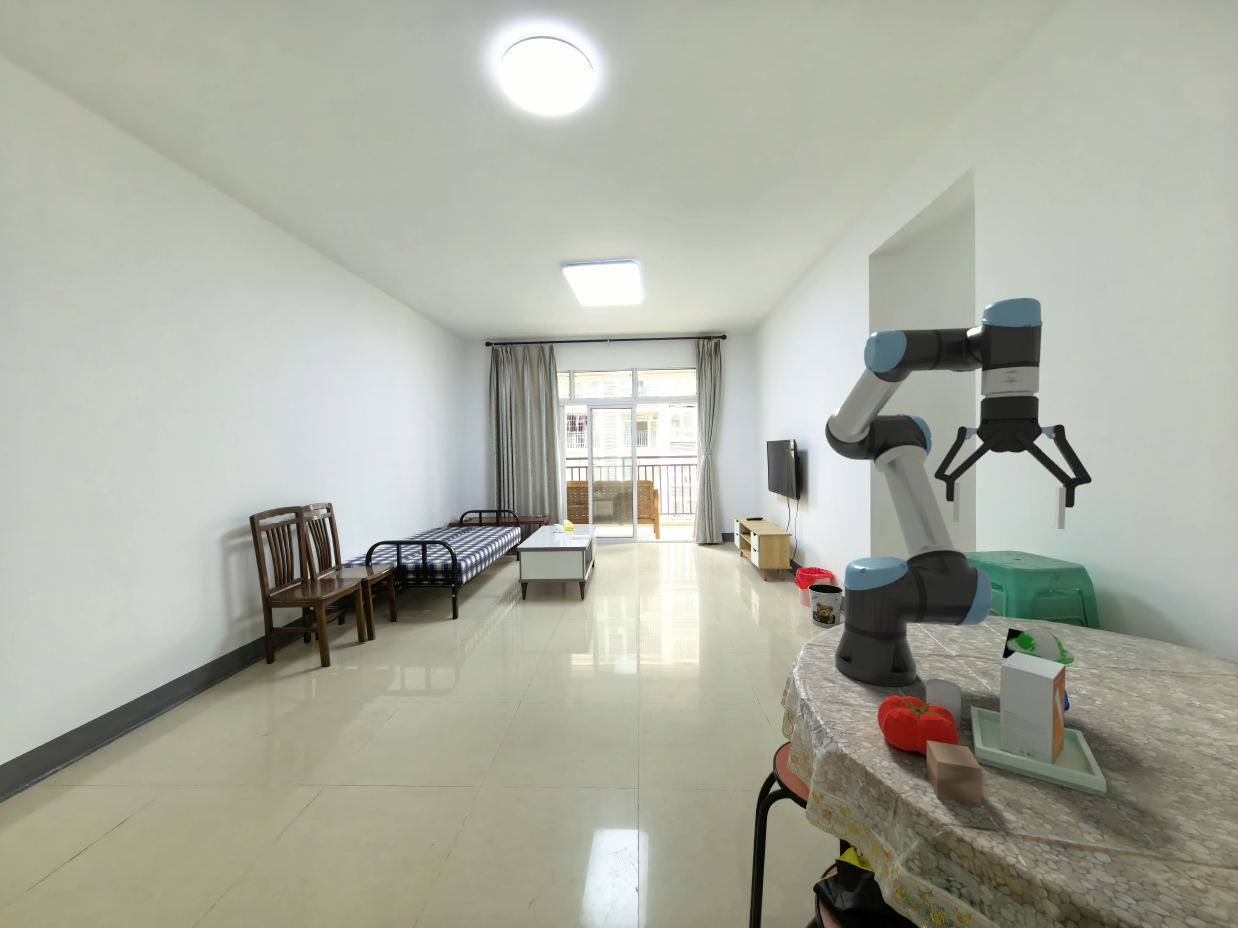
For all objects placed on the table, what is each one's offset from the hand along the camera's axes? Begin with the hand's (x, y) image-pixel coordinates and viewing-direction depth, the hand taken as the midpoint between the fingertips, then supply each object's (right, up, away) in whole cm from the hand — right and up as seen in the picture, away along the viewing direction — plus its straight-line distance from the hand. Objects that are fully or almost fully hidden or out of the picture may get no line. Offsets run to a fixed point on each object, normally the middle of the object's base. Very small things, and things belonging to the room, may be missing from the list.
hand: (1005, 524), depth 82 cm
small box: (-2, -34, -7) cm, 34 cm away
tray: (-2, -34, -7) cm, 35 cm away
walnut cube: (-19, -35, -15) cm, 42 cm away
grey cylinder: (-9, -34, +2) cm, 35 cm away
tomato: (-18, -34, -5) cm, 39 cm away
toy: (+9, -34, +4) cm, 35 cm away
